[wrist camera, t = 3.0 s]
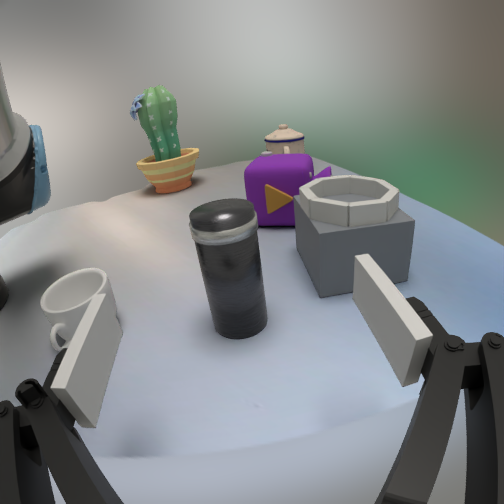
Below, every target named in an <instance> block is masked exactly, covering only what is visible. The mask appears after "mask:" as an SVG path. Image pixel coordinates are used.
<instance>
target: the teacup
mask: <svg viewBox="0 0 504 504" xmlns="http://www.w3.org/2000/svg"><path fill="white" fill-rule="evenodd" d="M105 293H106V294H107V296H108V299H109V301H110V304H111V306H112V308H113V311H114V313H115V315H116V312H117V308H116V301H115V298H114V294H113V291H112V288H111V284H110V281H109V279H108V277H107V275H106V273H105V272H104V271H103V270H101V269H98V268H85V269H80V270H77V271H74V272H71V273H69V274H67V275H65V276H63V277H61V278H60V279H58V280H57V281H55V282H54V283H53V284H52V285H50V286H49V287H48V288H47V290H46V291H45V292H44V294H43V295H42V298H41V301H40V304H41V308H42V310H43V312H44V313H45V315H46V317H47V318H48V320H49V322H50V323H51V325H52V326H53V327H52V329H51V332H50V340H51V344H52V346H53V347H54V349H55V350H57V351H61V350H62V349H63V348H68V347H69V345H70V342H71V340H72V338H73V336H74V334H75V332H76V330H77V328H78V326H79V324H80V322H81V320H82V318H83V316H84V314H85V312H86V310H87V308H88V306H89V304H90V302H91V300H92V298H93V296H94V295H97V294H105ZM56 333H58V334H59V336H60V337H62V338H63V339H64V340H66V343H65V344H64V345H63V346H62V347H59V345H58V344H57V341H56Z"/></svg>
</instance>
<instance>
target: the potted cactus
mask: <svg viewBox="0 0 504 504" xmlns="http://www.w3.org/2000/svg"><path fill="white" fill-rule="evenodd" d="M137 112H138V116H139V120H140V124H141V126H142V128H143V129H144V131H145V132H146V134H147V136H148V138H149V141H150V144H151V147H152V150H153V152H154V155H152V156H149V157H146V158H144V159H142V160H140V161H138V162H137V163H136V165H137V167H138V169H139V170H142V172H143V173H144V175H145V177H146V178H147V180H148V181H149V182H150V183H151V184H153V185H154V186H155V187H156V192H157V193H171V192H176V191H180V190H183V189H186V188H187V187H189V186H191V183H192V182H191V180H190V179H191V177H192V174H193V172H194V168H195V161H196V158H198V155H199V149H197V148H187V149H181V148H180V144H179V139H178V134H177V129H176V123H177V106H176V100H175V98H174V97H173V95H172V94H171V93H170V92H169V91H168V90H166V88H164V87H163V86H159V85H158V86H157V87H155V88H153V87H150V88H149V89H145V90H144V92H143V94H142V95H138V96H137V97H135V99H134V102H133V104H132V107H131V110H130V114H131V116H132V118H133V119H134V121H135V120H137V116H136V113H137Z"/></svg>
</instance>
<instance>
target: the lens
mask: <svg viewBox="0 0 504 504" xmlns="http://www.w3.org/2000/svg"><path fill="white" fill-rule="evenodd" d="M189 217H190V223H189V226H190V231H191V236H192V239H193V240H194V241H195V245H196V250H197V254H198V259H199V263H200V268H201V272H202V276H203V281H204V285H205V289H206V293H207V297H208V302H209V306H210V310H211V314H212V318H213V322H214V326H215V329H216V331H217V332H218V333H219V334H220V335H222V336H224V337H227V338H231V339H244V338H248V337H251V336H254V335H256V334H257V333H259V332H260V331H261V330H262V329H263V328H264V327H265V326H266V324H267V319H268V318H267V310H266V301H265V293H264V285H263V277H262V268H261V260H260V252H259V244H258V236H257V229H258V220H257V213H256V211H255V210H254V205H253V203H252V202H250V201H248V200H244V199H222V200H216V201H212V202H209V203H206V204H203V205H201V206H198V207H197V208H195V209H194V210H192V211H191V213H190V215H189Z"/></svg>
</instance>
